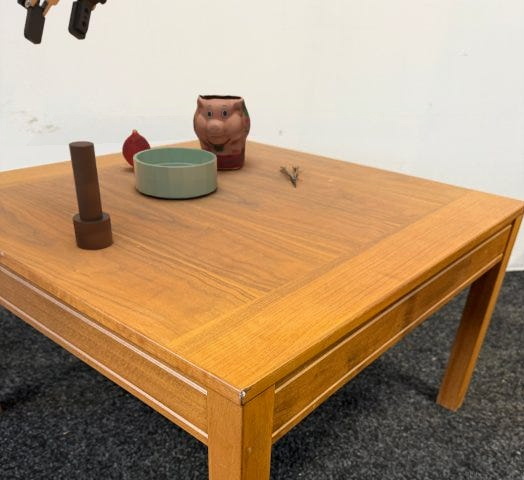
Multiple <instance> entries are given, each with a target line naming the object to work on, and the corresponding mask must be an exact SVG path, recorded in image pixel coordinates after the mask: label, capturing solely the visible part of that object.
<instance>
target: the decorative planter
mask: <svg viewBox="0 0 524 480" xmlns="http://www.w3.org/2000/svg"><path fill="white" fill-rule="evenodd" d="M196 105H197V106H196V110H195V112H194V115H193V118H192V119H193V120H192V126H193V132H194V134H195V135H196V137H197V139H198V141H199V145H200V146H199V147H200V149H202V150H206V151H209V152H212V153H213V154H215V155H216V157H217V170H237V169H241V168H243V166H244V164H245V158H246V143H247V138H248V136H249V134H250V131H251V117H250V114H249V111H248V108H247V106H246V103H245V99H244V98H243V96H240V95H230V94H228V95H227V94H226V95H225V94H224V95H223V94H222V95H221V94H204V95H202V94H198V96H197V100H196Z"/></svg>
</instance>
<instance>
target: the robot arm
mask: <svg viewBox="0 0 524 480" xmlns="http://www.w3.org/2000/svg"><path fill="white" fill-rule="evenodd" d="M60 1H61V0H43V1H42V3H41V0H17V1H16V3H17V4H18V5H20V6H21V7H22V8H24V9H25V10H26V16H25V23H24V27H23V36H24V39H26V40H27V41H29V42H30V43H32V44H33V45H40V44H41V43H42V41H43V40H42V38H43V36H44V35H43V34H44V28H45V25H46V15H47V14H48V13H49V11H50V9H51V7H52V6H57V5H58V4H59V3H60ZM107 1H108V0H74V1H72V4H71V10H70V16H69V21H68V26H67V31H68V33H69V34H70V35H71V36H73V37H74V38H75V39H76V40H78V41H83V40H85V39H86V36H87V33H88V31H89V25H90V20H91V16H92V12H93V11H95V9H96V8H97V5H98V4H100V5H105V4H106V3H107ZM40 4H41V5H40Z"/></svg>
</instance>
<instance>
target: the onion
mask: <svg viewBox="0 0 524 480" xmlns="http://www.w3.org/2000/svg"><path fill="white" fill-rule="evenodd" d="M131 131H132V132H131V134H130V135H129V136H128V137H127V138H126V139H125V140H124V141H123V144H122V147H121V150H122V151H121V152H122V156H123V158H124V160H125V161H126V162H127V164H129V165H130V166H131V167H133V168H134V162H133V157H134V155H135V154H136V153H138V152H141V151H144V150H148V149H152V148H151V145H150V143H149V141H148V140H147V139H146V138H145V136H143V135H141V134H140V133H139V132H138V130H137V129H135V128H133V129H132V130H131Z"/></svg>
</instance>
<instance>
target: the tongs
mask: <svg viewBox="0 0 524 480" xmlns="http://www.w3.org/2000/svg"><path fill="white" fill-rule="evenodd" d="M291 167H292V170H293V171H294V176H293V175H292V174H291V173H289V171H288V169H287V166H286V165H285V166H281V165H280V166H279V168H280V169H281V170H282V172H283V173H284V174H285V176H287V177H288V178H289V179H290V180H291V181H292V183H293V185H294V188H297V184H298V182H297V181H298V180H297V176H298V172H299V169H300V166H299V165H298V166H291Z"/></svg>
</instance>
